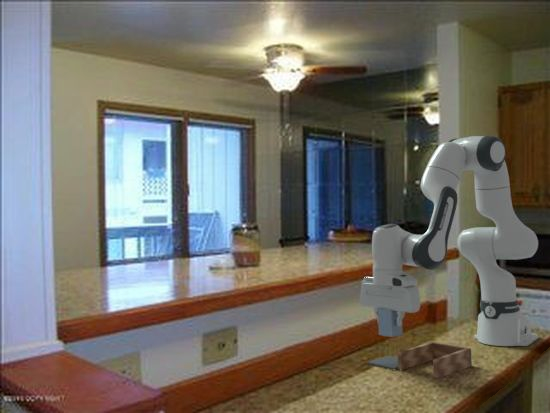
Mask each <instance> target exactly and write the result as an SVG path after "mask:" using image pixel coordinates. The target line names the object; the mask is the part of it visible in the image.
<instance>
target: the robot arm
mask: <svg viewBox="0 0 550 413" xmlns="http://www.w3.org/2000/svg"><path fill="white" fill-rule="evenodd" d="M506 154H507V150H506V145H505V144H504V141H502V139H501V138H500V137H497V136H492V135H485V136H484V135H483V136H481V135H472V136H467V137H461V138H451V139H450V140H447V141H445V142H442V143H440V144H439V145H438V146H437V147H436V149H435V151H434V152H433V153H432V155H431V157H430V158H429V160H428V163H427V165H426V167H425V169H424V171H423V174H422V177H421V180H420V189H421V192H422V194H423V195H424V197H425V198H427V199H428V200H429V201H431V202H432V203H433V211H432V214H431V218H430V222H429V225H428V229H427V230H426V232H425V233H423V234H415V233H411V232H409V231H406V230H405V229H403V228H401V227H400V226H399V225H398V224H396V223H389V224H383V225H382V224H381V225H379V226H377V227H375V228H374V230H373V232H372V238H371V239H372V240H371V254H372V258H373V265H372V276H365V277H366V278H365V277H364V279H363V278H362V279H363V280H361V282H360V283H361V287H360V294H359V297H360V298H359V301H360V302H359V303H360V306H362V307H365V308H372V309H373V312H374V314H375V316H376V320H377V323H378V308H382V309H390V310H393V311H397V315H398V317H397V319H396V320H394V325H395V326H401V325H402V326H403V319H404V318H405V315H406V313H409V314H414V313H416V312H419V310H420V308H421V298H420V291H419V289H418V287H417V286H418V284H419V283H418V278H416V277H415V276H412V275H411V274H408V273H407V272H405V271H403V266H404V265H406V266H412V267H418V268H422V269H425V270H429V271H430V270H431V271H432V270H436V269H438V268H440V266H442V265H443V264H444V262H445V260H446V258H447V255H448V242H449V237H450V233H451V229H452V225H453V222H454V218H455V215H456V214H455V213H456V210H457V206H458V193H457V189H458V185H459V183H460V181H461V178H462V175H463V173H464V171H467V172H469V171H470V172H473V173H474V182H473V183H474V196H475V205H476V206H475V207H476V210H477V212H478V213H479V214H480V215H481V216H483V217H485V218H488V219H489V220H491V221H493V222H494V224H495V226H488V227H487V226H483V227H481V226H480V227H479V226H478V227H477V226H476V227H471V228H467V229H464V230H462V231H461V232H460V233H459V235H458V236H457V243H456V244H457V249H458V251H459V253H460V254H461V255H462V256H463V257H464V258H466V259H467V260H468V261H470V263H471V265H473V268H475V270H476V272H477V274H478V277H479V282H480V283H479V284H480V292H481V293H480V294H481V299H480V303H479V306H480V308H479V309H480V311H481V312H480V313H479V314H478V316H477V328H476V329H477V334H474V339H476V340H477V341H478V342H479V343H481V344H484V345H489V346H498V347H528V346H529V345H531V344H533V343H534V342H535V341H537V340H538V339H539V338H540V337H539V334H537V333H536V332H535V333H534V332H532V328H531V326H532V325H531V322H530V319H528V318H527V317H526V316H525V315H524V314H523V313H522V312H521V308H520V307H521V306H522V307H523V305H524V304H523V303H524V302H523V299H517V284H516V283H517V282H516V277H515V276H514V275H513V274H512V273H511V272H509V271H508V270H506V269H503V268H501V267H500V266H499V265H498V263H497V260H517V261H518V260H523V259H528V258H532V257H534V255H535V254H536V252H537V250H538V248H539V240H538V237H537V235H536V233H535V231H533V230H532V229H531V228H529V227H528V226H527V225H525V224H524V223H523V222H522V221H521V220H520V219H519V217H518V216H517V214H516V213H515V210H514V207H513V203H512V196H511V187H510V186H511V185H510V175H509V172H508V166H507V163H506V161H505V160H506Z"/></svg>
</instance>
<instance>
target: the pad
mask: <svg viewBox="0 0 550 413" xmlns="http://www.w3.org/2000/svg"><path fill="white" fill-rule="evenodd" d="M366 364H367V365H370V366H375V367H378V368H382V367H384V368H383V369H387V368H389V369H388V370H391V369H396V370H398V369H397V368H398V356H397V357H396V356H392V355H385V356H382V357H379V358H375V359H372V360H370V361H367V363H366Z"/></svg>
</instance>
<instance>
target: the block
mask: <svg viewBox="0 0 550 413" xmlns="http://www.w3.org/2000/svg"><path fill="white" fill-rule="evenodd" d="M397 317H398V315H397V311H393V310H390V309H382V308H378V322H377V324H378V335H379V336H383V337H390V338H394V337H398V336H402V335H403V324H402V325H401V326H395V325H394V320H396V319H397Z"/></svg>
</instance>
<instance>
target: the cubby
mask: <svg viewBox="0 0 550 413" xmlns="http://www.w3.org/2000/svg"><path fill="white" fill-rule="evenodd" d="M396 355H397V357H398V369H401V370H400V371H403V370H402V369H404V370H406V368H407V369H409V368H408V367H410V368H412V366H413V367H415V365H416V366H418V364H419V365H420V364H421V363H422V364H424V363H427V362H430V361H432V370H433V374H432V375H433V378H434V379H436V380H438V379H441V378H442V377H446V376H449V375H451V374H453V373H456V372H459V371H462V370H464V369H466V368H467V369H468V368H469V367H472V366H473V365H472V363H473V362H472V360H473V359H472V348H470V347H465V346H460V345H459V346H458V345H453V344H448V343H442V342H436V341H429V342H427V343H422V344H419V345H417V346H414V347H411V348H407V349H404V350H401V351H397V354H396ZM398 369H397V370H398Z"/></svg>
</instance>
